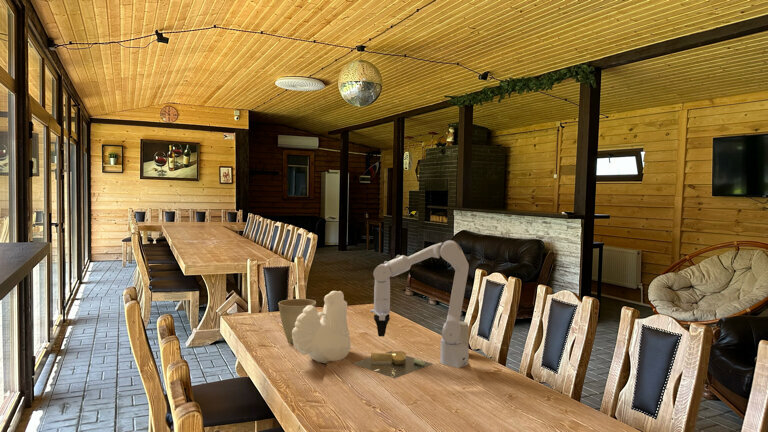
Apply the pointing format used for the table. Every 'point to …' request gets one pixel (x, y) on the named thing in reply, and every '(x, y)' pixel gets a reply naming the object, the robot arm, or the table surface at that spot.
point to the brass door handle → (390, 357)
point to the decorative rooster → (323, 330)
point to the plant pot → (292, 314)
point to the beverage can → (464, 333)
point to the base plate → (393, 366)
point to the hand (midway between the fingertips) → (381, 335)
